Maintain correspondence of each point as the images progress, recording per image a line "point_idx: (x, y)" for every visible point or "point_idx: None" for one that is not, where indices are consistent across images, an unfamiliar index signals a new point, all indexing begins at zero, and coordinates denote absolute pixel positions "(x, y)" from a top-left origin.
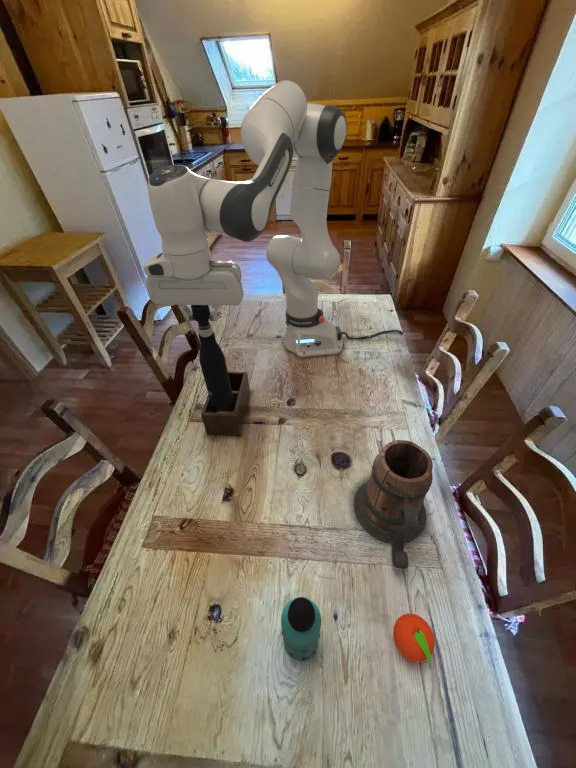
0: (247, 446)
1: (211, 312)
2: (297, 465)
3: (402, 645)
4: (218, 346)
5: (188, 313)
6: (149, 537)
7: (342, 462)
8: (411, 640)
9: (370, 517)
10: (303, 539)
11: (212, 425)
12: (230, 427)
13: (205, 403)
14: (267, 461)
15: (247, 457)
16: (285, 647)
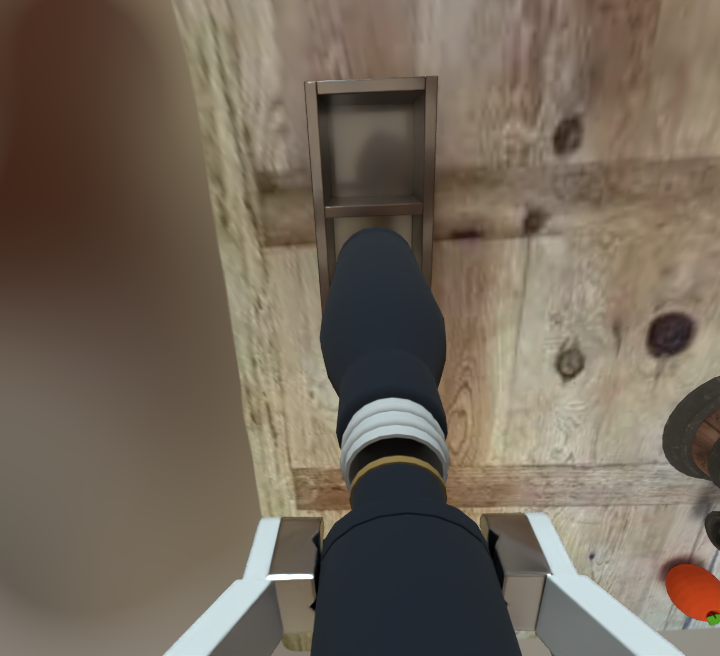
0: (442, 314)
1: (520, 597)
2: (564, 355)
3: (682, 611)
4: (439, 369)
5: (276, 638)
6: (302, 497)
7: (672, 339)
8: (700, 619)
9: (696, 463)
10: (560, 482)
11: None
12: None
13: (320, 272)
14: (494, 350)
15: (446, 344)
16: None
